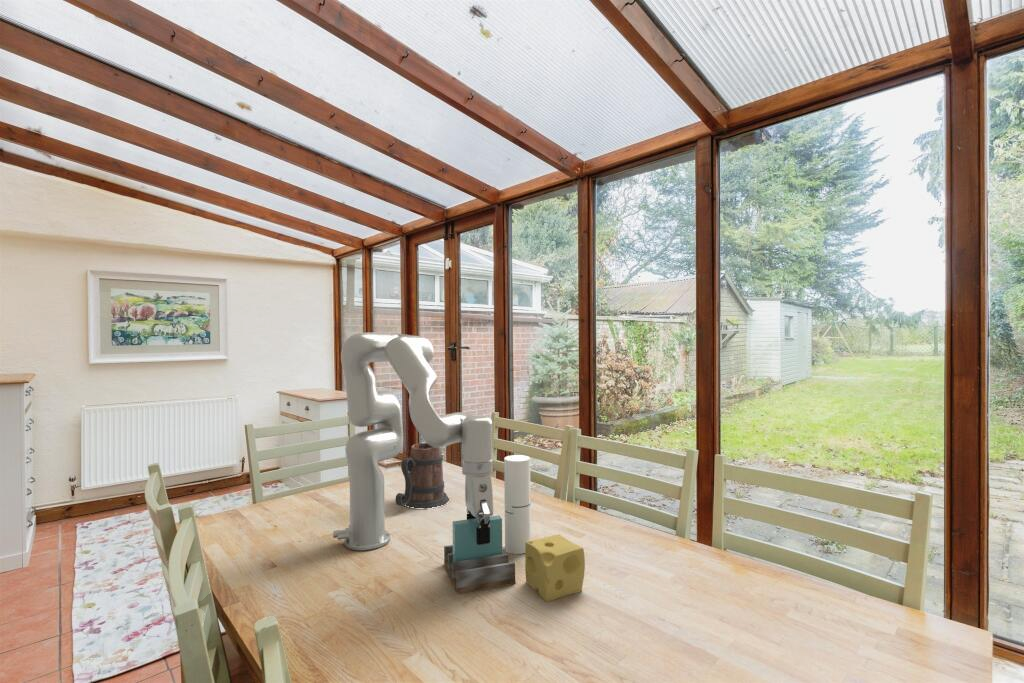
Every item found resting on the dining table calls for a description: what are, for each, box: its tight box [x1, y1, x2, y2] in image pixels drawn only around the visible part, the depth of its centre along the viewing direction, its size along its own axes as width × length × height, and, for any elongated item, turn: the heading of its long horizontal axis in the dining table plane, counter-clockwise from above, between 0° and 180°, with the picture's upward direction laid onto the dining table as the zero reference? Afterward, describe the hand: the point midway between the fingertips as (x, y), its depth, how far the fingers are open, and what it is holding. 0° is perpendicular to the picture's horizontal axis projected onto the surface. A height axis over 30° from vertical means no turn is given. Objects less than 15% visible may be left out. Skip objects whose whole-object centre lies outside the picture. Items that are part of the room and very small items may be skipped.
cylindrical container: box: [503, 454, 532, 555], centre depth 134 cm, size 7×7×25 cm
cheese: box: [524, 534, 586, 603], centre depth 113 cm, size 10×11×10 cm
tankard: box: [394, 442, 450, 508], centre depth 171 cm, size 24×17×20 cm
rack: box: [443, 544, 517, 595], centre depth 120 cm, size 14×16×5 cm
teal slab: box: [452, 514, 503, 562], centre depth 120 cm, size 12×2×12 cm, turn 109°
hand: (478, 535), depth 120 cm, fingers open, 9 cm apart
